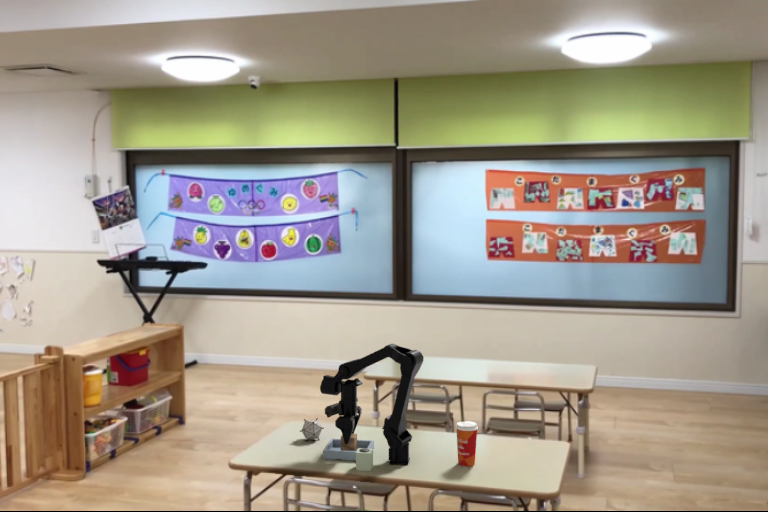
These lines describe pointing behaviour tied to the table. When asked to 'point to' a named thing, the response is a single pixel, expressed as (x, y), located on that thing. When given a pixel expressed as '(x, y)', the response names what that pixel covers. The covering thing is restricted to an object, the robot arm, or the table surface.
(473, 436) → the paper cup
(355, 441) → the walnut block
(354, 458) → the tray
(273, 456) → the table surface
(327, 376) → the robot arm
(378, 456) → the table surface
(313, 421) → the game die
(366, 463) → the sage block
